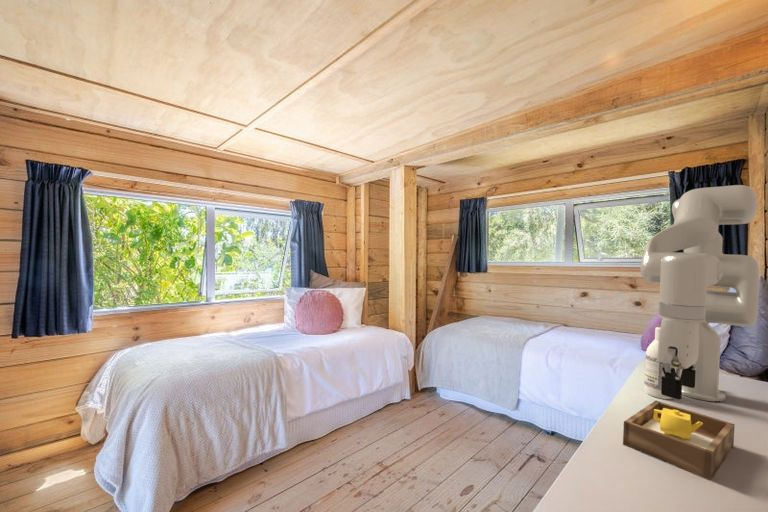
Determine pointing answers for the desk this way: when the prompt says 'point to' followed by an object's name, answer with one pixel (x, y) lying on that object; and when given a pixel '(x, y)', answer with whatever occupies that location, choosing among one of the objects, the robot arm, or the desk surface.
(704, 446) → the plate
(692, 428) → the teapot
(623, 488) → the desk surface
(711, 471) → the box
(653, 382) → the bath foam
